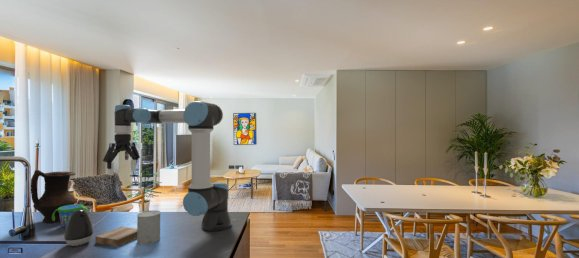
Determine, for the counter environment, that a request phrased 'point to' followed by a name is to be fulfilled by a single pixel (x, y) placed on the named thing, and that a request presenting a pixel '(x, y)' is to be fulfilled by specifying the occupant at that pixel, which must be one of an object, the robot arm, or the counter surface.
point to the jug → (52, 194)
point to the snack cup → (67, 212)
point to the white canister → (148, 227)
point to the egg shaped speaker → (78, 228)
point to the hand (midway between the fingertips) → (122, 173)
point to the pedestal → (117, 236)
